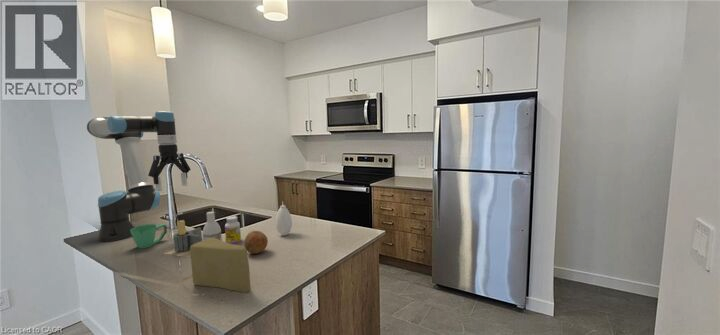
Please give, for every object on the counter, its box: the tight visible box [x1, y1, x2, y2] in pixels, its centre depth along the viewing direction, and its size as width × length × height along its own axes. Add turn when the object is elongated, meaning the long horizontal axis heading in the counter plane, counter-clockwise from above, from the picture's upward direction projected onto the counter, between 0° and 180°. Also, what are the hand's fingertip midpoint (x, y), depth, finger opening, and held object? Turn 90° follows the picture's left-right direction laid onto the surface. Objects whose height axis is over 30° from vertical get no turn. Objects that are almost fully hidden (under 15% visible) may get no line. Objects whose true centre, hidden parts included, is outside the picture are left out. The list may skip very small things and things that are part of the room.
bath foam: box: [202, 211, 223, 241], centre depth 128 cm, size 7×7×20 cm
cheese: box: [190, 238, 252, 293], centre depth 105 cm, size 22×10×15 cm, turn 64°
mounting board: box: [162, 248, 191, 258], centre depth 138 cm, size 15×16×1 cm
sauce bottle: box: [275, 200, 293, 236], centre depth 155 cm, size 8×8×18 cm
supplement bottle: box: [224, 215, 242, 245], centre depth 145 cm, size 7×7×13 cm
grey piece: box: [172, 227, 203, 252], centre depth 139 cm, size 13×13×7 cm
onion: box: [243, 230, 269, 255], centre depth 133 cm, size 10×10×10 cm
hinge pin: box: [176, 219, 187, 236], centre depth 136 cm, size 3×3×13 cm
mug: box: [130, 223, 168, 249], centre depth 144 cm, size 15×10×10 cm
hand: (172, 188), depth 147 cm, fingers open, 13 cm apart
